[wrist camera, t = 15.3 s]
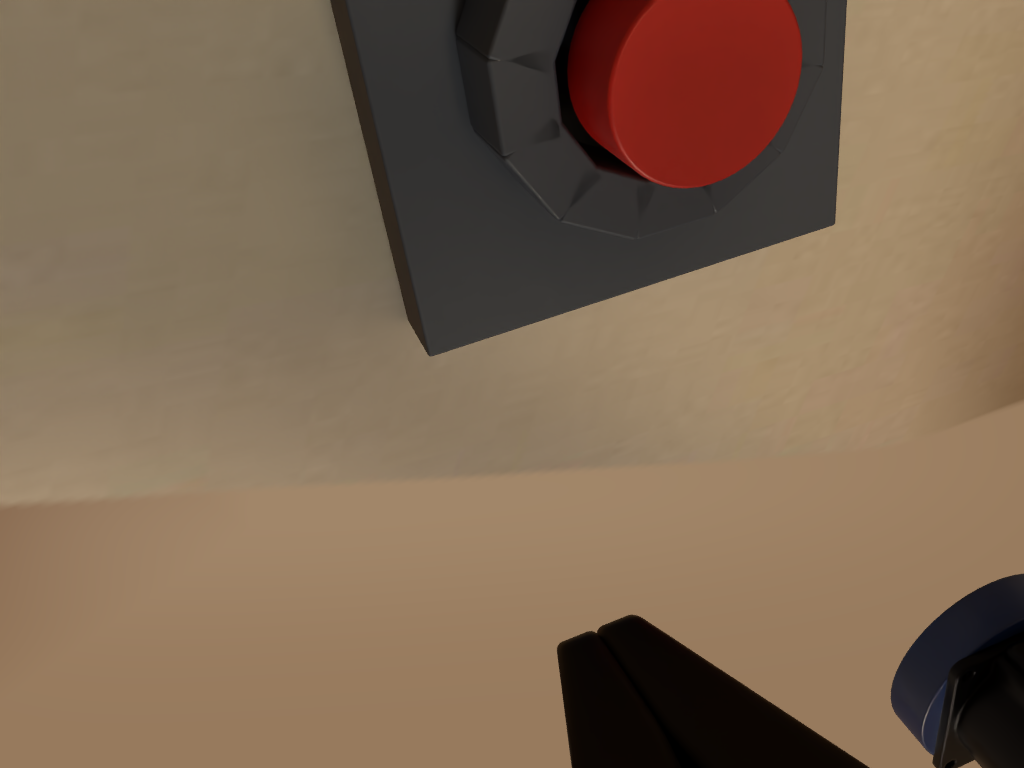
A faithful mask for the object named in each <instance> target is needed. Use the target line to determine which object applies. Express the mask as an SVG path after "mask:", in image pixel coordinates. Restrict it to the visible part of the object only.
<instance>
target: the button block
mask: <svg viewBox="0 0 1024 768" xmlns="http://www.w3.org/2000/svg"><path fill="white" fill-rule="evenodd" d="M330 1H331V5H332V9H333V13H334V18H335V22H336V26H337V30H338V34H339V38H340V42H341V46H342V50H343V55H344V59H345V63H346V67H347V71H348V75H349V79H350V83H351V87H352V91H353V96H354V100H355V104H356V108H357V112H358V116H359V120H360V124H361V128H362V132H363V137H364V141H365V145H366V149H367V153H368V157H369V161H370V165H371V169H372V174H373V178H374V182H375V186H376V190H377V194H378V198H379V202H380V206H381V210H382V215H383V219H384V223H385V227H386V231H387V235H388V239H389V243H390V247H391V251H392V256H393V260H394V264H395V268H396V272H397V276H398V280H399V284H400V288H401V292H402V297H403V301H404V305H405V309H406V313H407V317H408V321H409V323H410V324H411V326H412V328H413V329H414V331H415V333H416V335H417V336H418V338H419V340H420V342H421V343H422V345H423V347H424V349H425V350H426V352H427V354H428V355H429V356H434V355H437V354H441V353H444V352H447V351H450V350H453V349H456V348H459V347H462V346H465V345H468V344H471V343H474V342H477V341H480V340H483V339H486V338H489V337H493V336H496V335H499V334H502V333H505V332H508V331H511V330H514V329H517V328H520V327H523V326H526V325H529V324H532V323H535V322H538V321H541V320H545V319H548V318H551V317H554V316H557V315H560V314H563V313H566V312H569V311H572V310H575V309H578V308H581V307H584V306H587V305H590V304H593V303H597V302H600V301H603V300H606V299H609V298H612V297H615V296H618V295H621V294H624V293H627V292H630V291H633V290H636V289H639V288H642V287H645V286H648V285H652V284H655V283H658V282H661V281H664V280H667V279H670V278H673V277H676V276H679V275H682V274H685V273H688V272H691V271H694V270H697V269H700V268H704V267H707V266H710V265H713V264H716V263H719V262H722V261H725V260H728V259H731V258H734V257H737V256H740V255H743V254H746V253H749V252H752V251H756V250H759V249H762V248H765V247H768V246H771V245H774V244H777V243H780V242H783V241H786V240H789V239H792V238H795V237H798V236H801V235H804V234H808V233H811V232H814V231H817V230H820V229H823V228H826V227H829V226H832V225H834V224H835V214H836V196H837V177H838V158H839V139H840V120H841V101H842V83H843V64H844V45H845V26H846V7H847V0H788V2H789V4H790V5H791V7H792V10H793V12H794V14H795V16H796V19H797V22H798V26H799V29H800V35H801V41H802V66H801V74H800V80H799V85H798V88H797V92H796V95H795V98H794V101H793V103H792V106H791V108H790V111H789V113H788V115H787V117H786V119H785V120H784V122H783V124H782V126H781V127H780V129H779V130H778V132H777V133H776V135H775V136H774V138H773V139H772V140H771V142H770V143H769V144H768V145H767V146H766V148H765V149H764V150H763V151H762V152H761V153H760V154H759V155H758V156H757V157H756V158H755V159H754V160H752V161H751V162H750V163H749V164H748V165H746V166H745V167H744V168H742V169H741V170H739V171H738V172H736V173H735V174H733V175H731V176H729V177H727V178H725V179H723V180H721V181H718V182H715V183H713V184H709V185H705V186H701V187H694V188H672V187H667V186H662V185H659V184H657V183H654V182H651V181H650V180H648V179H646V178H644V177H643V176H641V175H640V174H638V173H637V172H636V171H634V170H633V169H632V168H630V167H629V166H628V165H626V164H625V163H624V162H622V161H621V160H620V159H618V158H617V157H616V156H615V155H613V154H612V153H611V152H609V151H608V150H607V149H605V148H604V147H603V146H601V145H600V144H599V143H598V142H596V141H595V140H594V139H593V138H592V137H591V136H590V135H589V134H588V133H587V131H586V130H585V129H584V127H583V126H582V124H581V123H580V121H579V119H578V117H577V115H576V113H575V111H574V108H573V105H572V102H571V98H570V93H569V88H568V74H567V68H568V55H569V50H570V45H571V40H572V37H573V34H574V31H575V28H576V25H577V23H578V21H579V18H580V16H581V14H582V12H583V11H584V9H585V7H586V5H587V4H588V2H589V1H590V0H330Z"/></svg>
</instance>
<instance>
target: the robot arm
mask: <svg viewBox="0 0 1024 768" xmlns="http://www.w3.org/2000/svg"><path fill="white" fill-rule="evenodd" d="M557 654H558V663H559V670H560V678H561V685H562V694H563V702H564V709H565V717H566V725H567V733H568V741H569V748H570V756H571V764H572V768H869V767H868V766H866V765H865V764H863V763H862V762H860V761H859V760H857V759H856V758H854V757H853V756H851V755H849V754H848V753H846V752H845V751H843V750H842V749H840V748H838V747H837V746H836V745H834V744H832V743H831V742H830V741H828V740H827V739H825V738H823V737H822V736H821V735H819V734H817V733H816V732H815V731H813V730H812V729H810V728H808V727H807V726H805V725H804V724H802V723H801V722H799V721H798V720H796V719H795V718H793V717H792V716H790V715H789V714H787V713H786V712H784V711H783V710H781V709H780V708H778V707H777V706H775V705H774V704H772V703H771V702H769V701H767V700H766V699H764V698H763V697H761V696H760V695H758V694H757V693H755V692H754V691H752V690H751V689H749V688H748V687H746V686H745V685H743V684H742V683H740V682H739V681H737V680H736V679H734V678H733V677H731V676H730V675H728V674H726V673H725V672H723V671H722V670H720V669H719V668H717V667H716V666H714V665H713V664H711V663H710V662H708V661H707V660H705V659H704V658H702V657H701V656H699V655H698V654H696V653H695V652H693V651H692V650H690V649H688V648H687V647H686V646H684V645H682V644H681V643H679V642H678V641H676V640H675V639H673V638H672V637H670V636H669V635H667V634H666V633H664V632H663V631H661V630H660V629H658V628H656V627H655V626H654V625H652V624H651V623H649V622H648V621H646V620H645V619H643V618H641V617H639V616H636V615H628V616H625V617H623V618H620V619H618V620H615V621H613V622H610V623H608V624H605V625H603V626H601V627H600V628H599V629H598V631H597V633H595V632H593V631H589V632H585V633H583V634H580V635H578V636H576V637H573V638H570V639H568V640H566V641H563V642H561V643H560V644H559V645H558V647H557ZM973 760H976V761H977V762H978V763H979V764H980V766H981V767H982V768H1024V631H1023V632H1021V633H1019V634H1017V635H1014V636H1012V637H1010V638H1008V639H1005V640H1003V641H1001V642H999V643H996V644H994V645H992V646H990V647H987V648H985V649H983V650H981V651H979V652H976V653H974V654H972V655H970V656H967V657H965V658H963V659H961V660H959V661H957V662H956V663H955V664H954V665H953V666H952V667H951V669H950V671H949V674H948V679H947V685H946V690H945V696H944V701H943V707H942V712H941V718H940V723H939V729H938V734H937V740H936V745H935V751H934V757H933V765H934V766H935V767H936V768H958V767H960V766H963V765H964V764H967V763H969V762H971V761H973Z"/></svg>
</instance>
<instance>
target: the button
mask: <svg viewBox="0 0 1024 768" xmlns="http://www.w3.org/2000/svg"><path fill="white" fill-rule="evenodd" d="M801 66H802V41H801V35H800V29H799V26H798V22H797V19H796V16H795V14H794V12H793V10H792V7H791V5H790V4H789V2H788V0H590V1H589V2H588V4H587V5H586V7H585V9H584V11H583V12H582V14H581V16H580V18H579V21H578V23H577V25H576V28H575V31H574V34H573V37H572V40H571V45H570V50H569V55H568V68H567V74H568V88H569V93H570V98H571V102H572V105H573V108H574V111H575V113H576V115H577V117H578V119H579V121H580V123H581V124H582V126H583V127H584V129H585V130H586V131H587V133H588V134H589V135H590V136H591V137H592V138H593V139H594V140H595V141H596V142H598V143H599V144H600V145H601V146H603V147H604V148H605V149H607V150H608V151H609V152H611V153H612V154H613V155H615V156H616V157H617V158H618V159H620V160H621V161H622V162H624V163H625V164H626V165H628V166H629V167H630V168H632V169H633V170H634V171H636V172H637V173H638V174H640V175H641V176H643V177H644V178H646V179H648V180H650V181H651V182H654V183H657V184H659V185H662V186H667V187H672V188H694V187H701V186H705V185H709V184H713V183H715V182H718V181H721V180H723V179H725V178H727V177H729V176H731V175H733V174H735V173H736V172H738V171H739V170H741V169H742V168H744V167H745V166H746V165H748V164H749V163H750V162H751V161H752V160H754V159H755V158H756V157H757V156H758V155H759V154H760V153H761V152H762V151H763V150H764V149H765V148H766V146H767V145H768V144H769V143H770V142H771V140H772V139H773V138H774V136H775V135H776V133H777V132H778V130H779V129H780V127H781V126H782V124H783V122H784V120H785V119H786V117H787V115H788V113H789V111H790V108H791V106H792V103H793V101H794V98H795V95H796V92H797V88H798V85H799V80H800V74H801Z"/></svg>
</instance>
